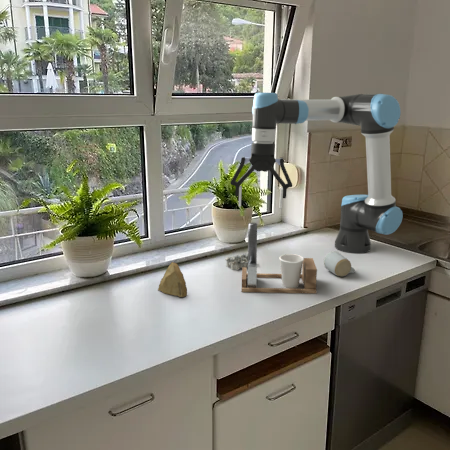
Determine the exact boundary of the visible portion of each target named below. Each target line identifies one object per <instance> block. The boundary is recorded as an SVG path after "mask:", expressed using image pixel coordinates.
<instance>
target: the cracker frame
mask: <svg viewBox="0 0 450 450" xmlns="http://www.w3.org/2000/svg"><path fill="white" fill-rule="evenodd" d="M303 258H304V260H303V264H302V270H301V275H300V279H301V280H302V285H303V288H287V287H283V288H282V287H279V288H278V287H256V288H248V287H247V278H248V267H246V268H245V267H242V268H241V269H242V270H241V293H268V294H269V293H270V294H271V293H273V294H277V293H278V294H279V293H280V294H288V293H289V294H317V273H318V269H317V266H316V264H315V260H314V258H313V257H312V258H311V257H303ZM258 278H260V279H261V278H266V279H282V275H281V273H258V272H257V279H258Z"/></svg>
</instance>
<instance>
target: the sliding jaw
mask: <svg viewBox="0 0 450 450" xmlns="http://www.w3.org/2000/svg"><path fill="white" fill-rule="evenodd" d="M247 228H248V229H247V232H248V233H247V237H248V238H247V253H248V266H247V273H248V277H247V288H257V279H258V278H257V273H258V272H257V270H258V269H257V268H258V267H257V265H258V263H257V262H258V261H257V258H258V223H257V222H248V227H247Z"/></svg>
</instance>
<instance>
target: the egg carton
mask: <svg viewBox="0 0 450 450" xmlns="http://www.w3.org/2000/svg"><path fill="white" fill-rule="evenodd" d="M224 261H226V263H225V264H226V267H227V268H230V269H231V271H239V269H242V267H245V268H248V252H246V253H243V254H240V255H239V254H238V255H233V256H227V257H226V258H224Z"/></svg>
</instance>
